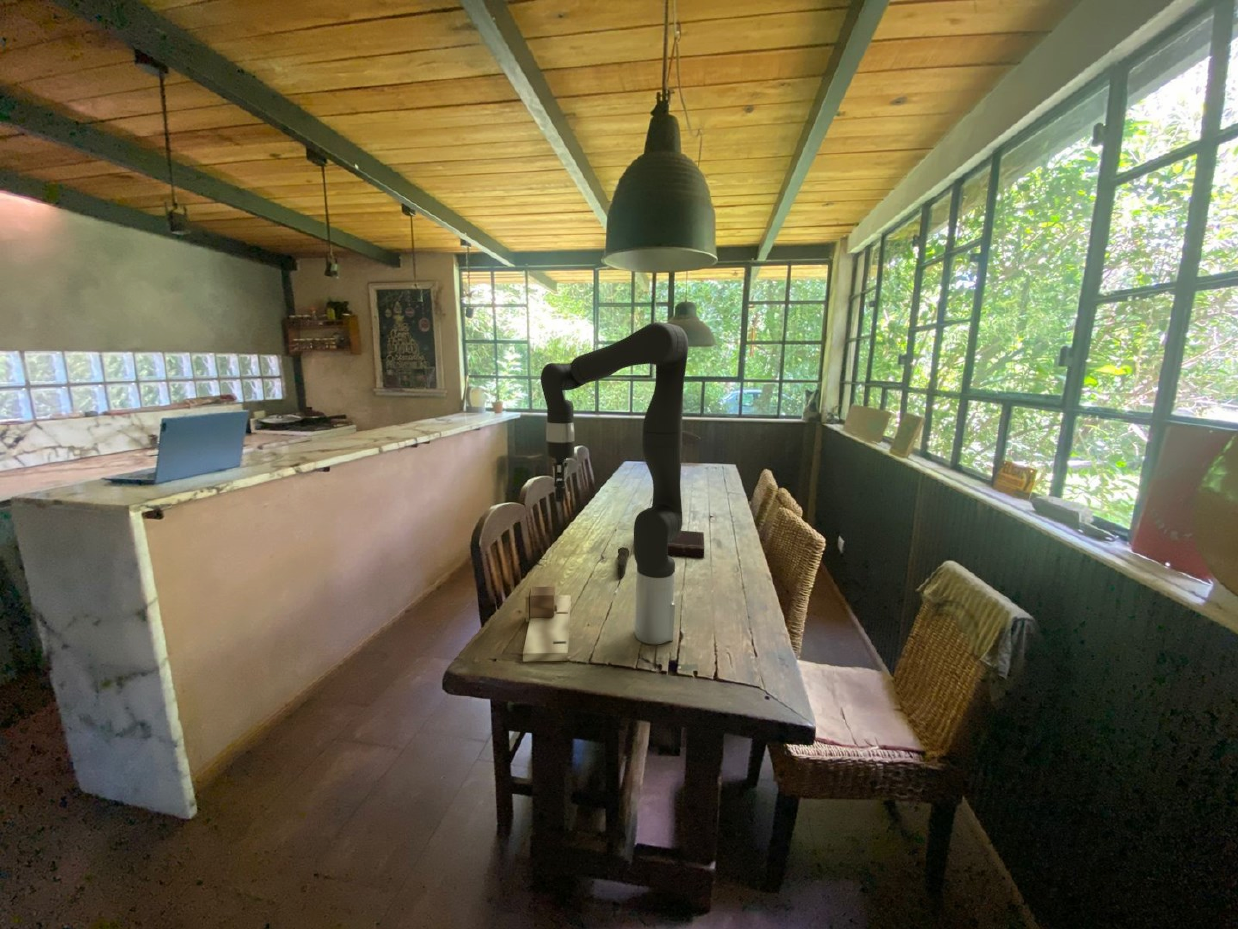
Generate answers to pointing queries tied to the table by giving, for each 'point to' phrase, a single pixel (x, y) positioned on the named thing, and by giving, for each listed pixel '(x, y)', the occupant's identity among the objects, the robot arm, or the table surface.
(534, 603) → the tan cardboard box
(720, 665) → the table surface
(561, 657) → the board
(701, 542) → the diary
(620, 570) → the hand tool
